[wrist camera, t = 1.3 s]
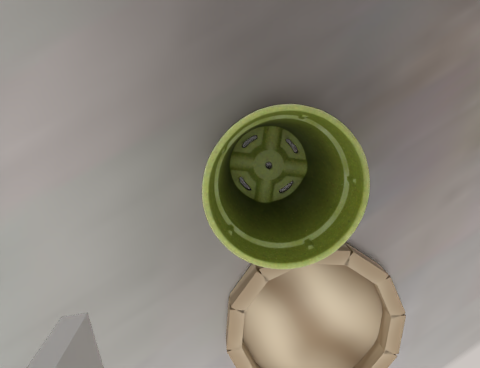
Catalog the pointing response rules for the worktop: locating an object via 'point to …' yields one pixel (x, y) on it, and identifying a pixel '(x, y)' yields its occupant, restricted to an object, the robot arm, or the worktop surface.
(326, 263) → the round wooden tray
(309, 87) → the worktop surface
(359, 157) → the plant pot
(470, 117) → the worktop surface
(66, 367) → the robot arm
